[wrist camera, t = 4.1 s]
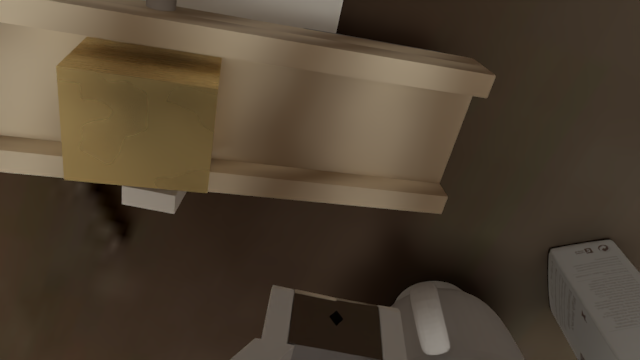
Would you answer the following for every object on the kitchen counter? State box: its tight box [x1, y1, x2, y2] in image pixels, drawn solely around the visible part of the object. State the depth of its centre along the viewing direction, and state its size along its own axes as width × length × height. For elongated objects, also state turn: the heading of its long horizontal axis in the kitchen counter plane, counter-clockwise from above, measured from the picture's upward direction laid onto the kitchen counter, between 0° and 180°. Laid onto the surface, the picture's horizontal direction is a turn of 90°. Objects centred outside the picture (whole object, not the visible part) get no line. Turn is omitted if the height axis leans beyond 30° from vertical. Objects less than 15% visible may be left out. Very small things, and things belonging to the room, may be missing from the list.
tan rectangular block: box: [56, 37, 222, 193], centre depth 18 cm, size 5×4×4 cm
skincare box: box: [548, 240, 640, 360], centre depth 29 cm, size 6×4×12 cm
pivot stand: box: [122, 0, 343, 214], centre depth 23 cm, size 19×13×9 cm
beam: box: [0, 0, 496, 214], centre depth 21 cm, size 27×8×5 cm, turn 79°
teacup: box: [391, 281, 525, 360], centre depth 31 cm, size 12×15×10 cm
